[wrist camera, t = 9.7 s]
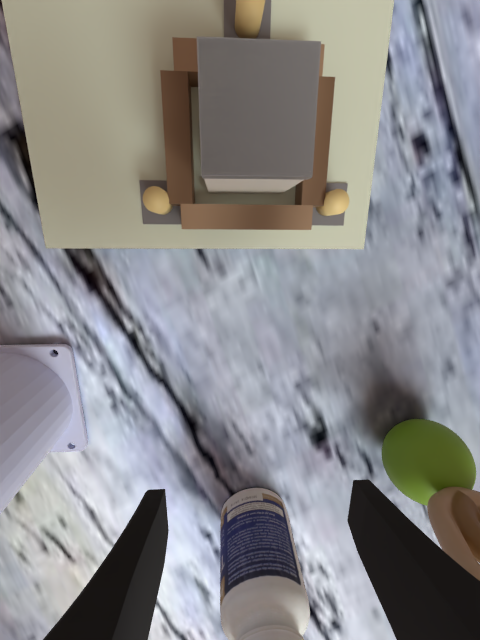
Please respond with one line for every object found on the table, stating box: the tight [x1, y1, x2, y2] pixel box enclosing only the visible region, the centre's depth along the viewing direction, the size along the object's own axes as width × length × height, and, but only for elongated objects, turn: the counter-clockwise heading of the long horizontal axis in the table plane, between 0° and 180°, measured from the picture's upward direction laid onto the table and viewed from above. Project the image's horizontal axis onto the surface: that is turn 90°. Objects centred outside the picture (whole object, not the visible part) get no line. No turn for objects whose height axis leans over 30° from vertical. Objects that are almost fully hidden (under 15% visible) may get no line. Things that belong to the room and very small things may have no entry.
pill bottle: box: [220, 488, 310, 640], centre depth 20 cm, size 5×5×10 cm
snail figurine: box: [382, 419, 480, 581], centre depth 17 cm, size 5×6×12 cm
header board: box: [2, 0, 394, 249], centre depth 15 cm, size 18×12×3 cm, turn 90°
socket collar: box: [160, 37, 335, 230], centre depth 15 cm, size 8×8×2 cm
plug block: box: [197, 36, 321, 194], centre depth 13 cm, size 4×4×6 cm
